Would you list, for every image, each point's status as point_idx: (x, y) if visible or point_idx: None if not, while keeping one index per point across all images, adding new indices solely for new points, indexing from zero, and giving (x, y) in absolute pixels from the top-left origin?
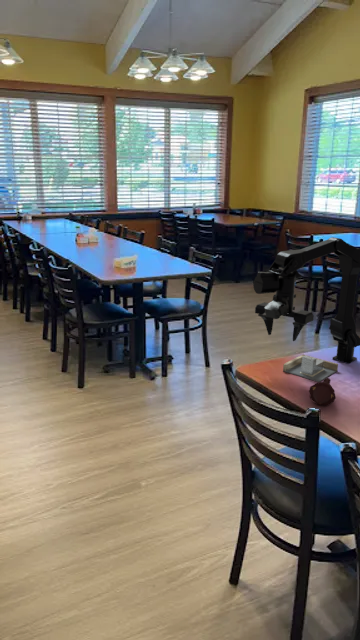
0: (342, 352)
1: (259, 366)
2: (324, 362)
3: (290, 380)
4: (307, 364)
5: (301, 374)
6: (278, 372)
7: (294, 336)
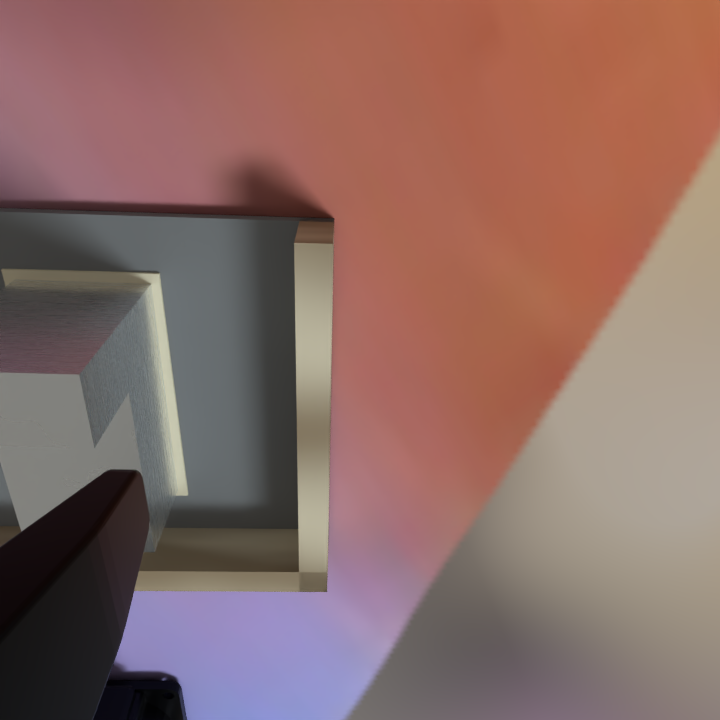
0: None
1: (616, 168)
2: None
3: (111, 15)
4: (27, 329)
5: (118, 245)
6: (356, 153)
7: (15, 549)
